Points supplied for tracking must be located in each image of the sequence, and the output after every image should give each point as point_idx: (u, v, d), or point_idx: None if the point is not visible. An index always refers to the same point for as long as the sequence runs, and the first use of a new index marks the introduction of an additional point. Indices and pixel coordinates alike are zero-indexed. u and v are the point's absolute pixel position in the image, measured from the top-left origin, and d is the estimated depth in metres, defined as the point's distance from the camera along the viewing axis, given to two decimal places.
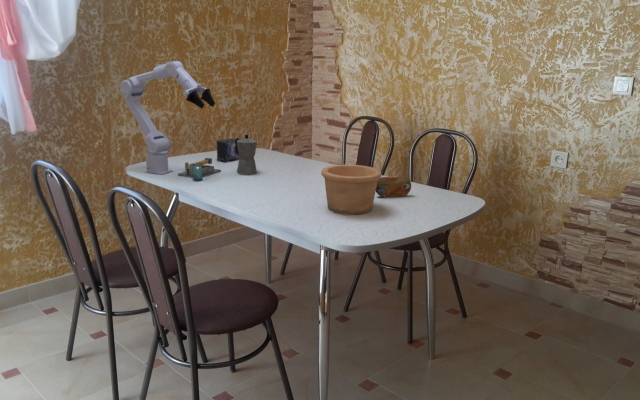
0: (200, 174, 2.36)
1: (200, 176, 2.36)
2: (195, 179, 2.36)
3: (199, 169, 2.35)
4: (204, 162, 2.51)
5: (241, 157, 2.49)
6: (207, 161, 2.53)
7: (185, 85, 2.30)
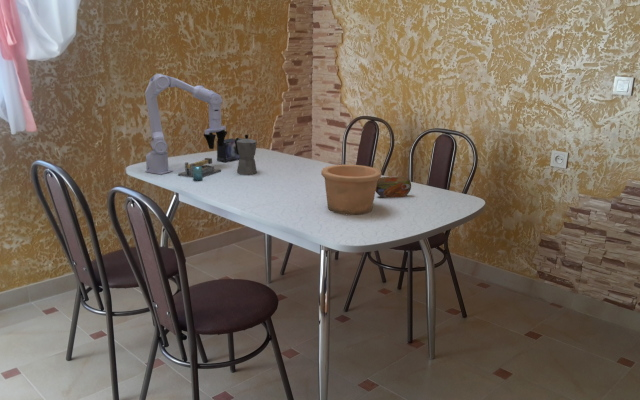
0: (200, 174, 2.36)
1: (200, 176, 2.36)
2: (195, 179, 2.36)
3: (199, 169, 2.35)
4: (204, 162, 2.51)
5: (241, 157, 2.49)
6: (207, 161, 2.53)
7: (211, 121, 2.53)
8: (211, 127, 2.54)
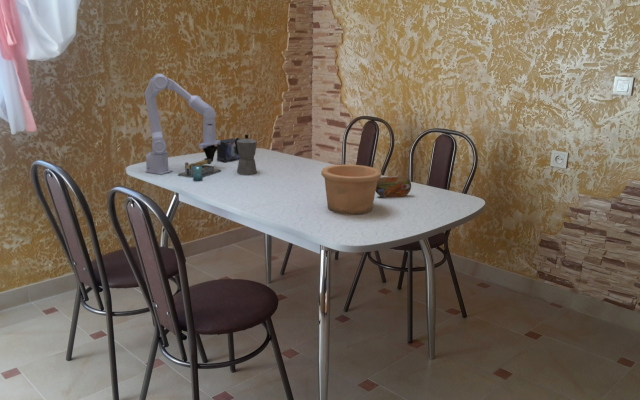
0: (200, 174, 2.36)
1: (200, 176, 2.36)
2: (195, 179, 2.36)
3: (199, 169, 2.35)
4: (203, 162, 2.51)
5: (241, 157, 2.49)
6: (206, 161, 2.53)
7: (205, 136, 2.51)
8: (205, 141, 2.51)
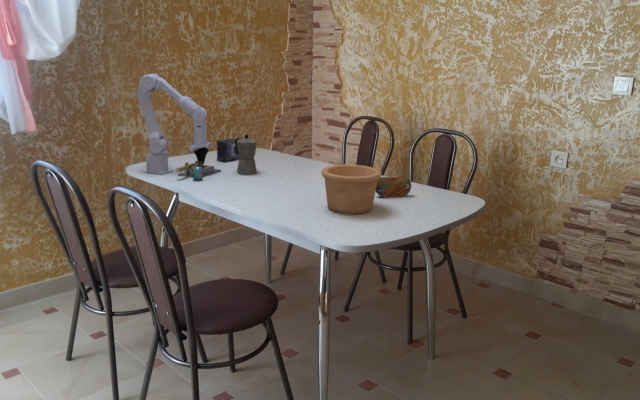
0: (200, 174, 2.36)
1: (200, 176, 2.36)
2: (195, 179, 2.36)
3: (199, 169, 2.35)
4: (194, 165, 2.44)
5: (241, 157, 2.49)
6: (197, 164, 2.46)
7: (196, 138, 2.45)
8: (196, 144, 2.45)
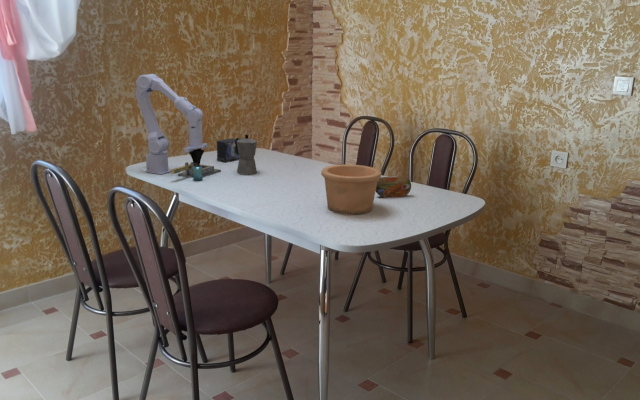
0: (200, 174, 2.36)
1: (200, 176, 2.36)
2: (195, 179, 2.36)
3: (199, 169, 2.35)
4: (189, 166, 2.41)
5: (241, 157, 2.49)
6: None
7: (191, 139, 2.41)
8: (191, 145, 2.42)
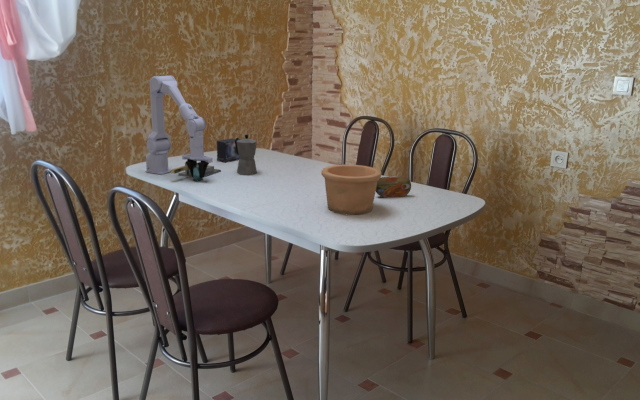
0: None
1: None
2: (195, 179, 2.36)
3: None
4: None
5: (241, 157, 2.49)
6: None
7: None
8: None
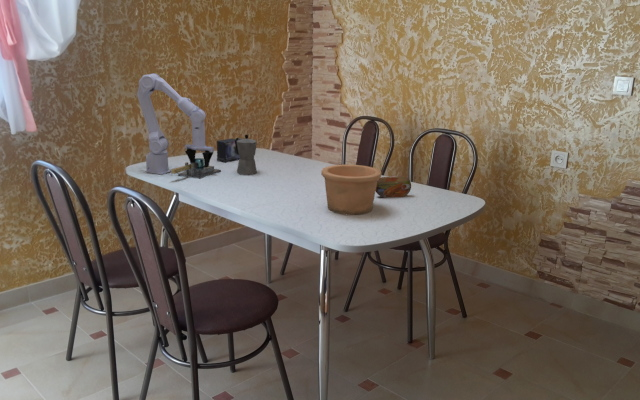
0: (202, 166, 2.48)
1: (202, 167, 2.48)
2: None
3: (201, 161, 2.47)
4: (189, 166, 2.41)
5: (241, 157, 2.49)
6: None
7: None
8: None
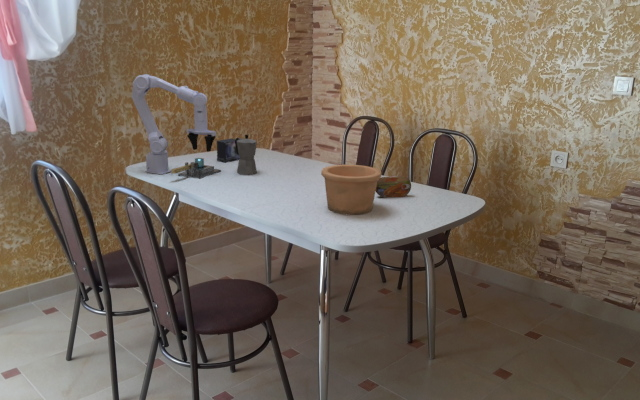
0: (202, 165, 2.48)
1: (202, 167, 2.48)
2: None
3: (201, 160, 2.47)
4: (189, 166, 2.41)
5: (241, 157, 2.49)
6: None
7: None
8: None
